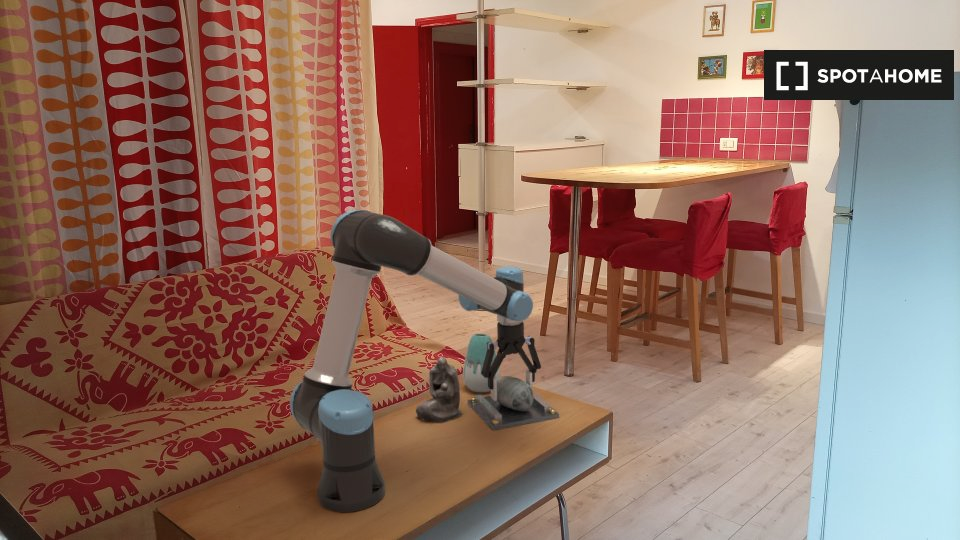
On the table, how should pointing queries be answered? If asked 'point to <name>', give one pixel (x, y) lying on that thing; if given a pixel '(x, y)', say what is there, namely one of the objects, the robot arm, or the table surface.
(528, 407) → the grey rock
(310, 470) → the table surface
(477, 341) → the vase
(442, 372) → the figurine
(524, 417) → the carrier
